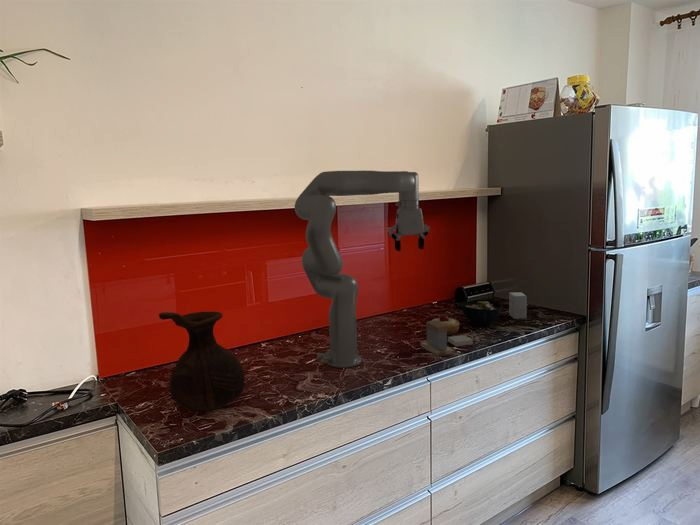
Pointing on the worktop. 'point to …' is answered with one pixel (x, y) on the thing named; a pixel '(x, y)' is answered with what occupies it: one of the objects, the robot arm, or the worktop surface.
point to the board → (436, 352)
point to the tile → (460, 340)
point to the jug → (204, 366)
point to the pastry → (448, 324)
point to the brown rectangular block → (436, 335)
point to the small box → (518, 305)
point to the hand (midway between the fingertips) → (409, 249)
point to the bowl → (481, 311)
